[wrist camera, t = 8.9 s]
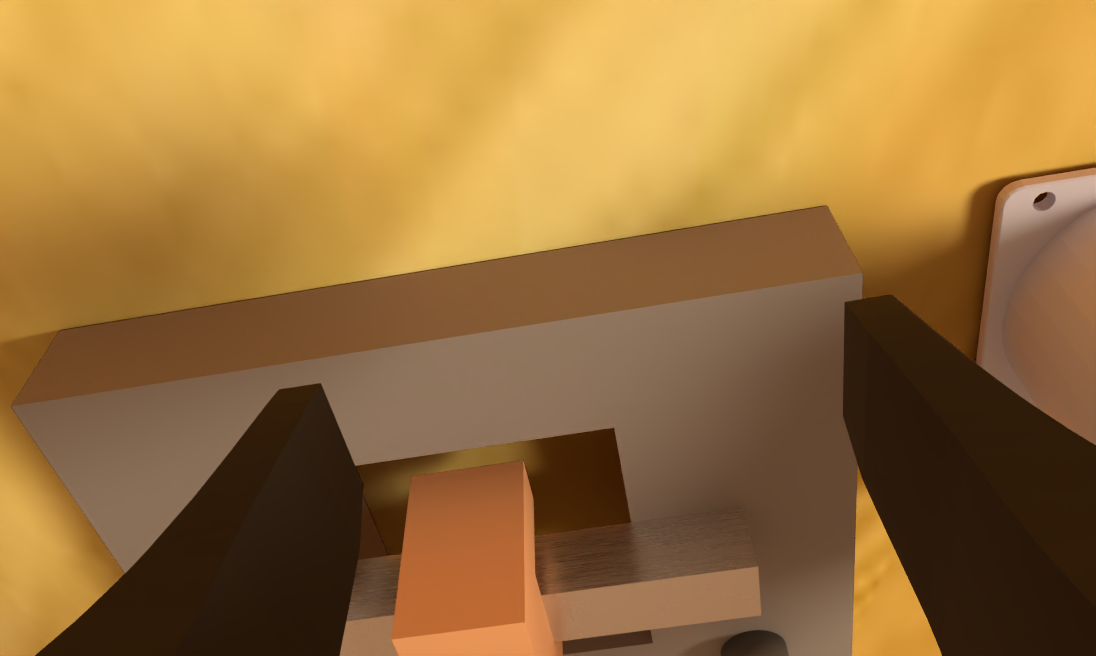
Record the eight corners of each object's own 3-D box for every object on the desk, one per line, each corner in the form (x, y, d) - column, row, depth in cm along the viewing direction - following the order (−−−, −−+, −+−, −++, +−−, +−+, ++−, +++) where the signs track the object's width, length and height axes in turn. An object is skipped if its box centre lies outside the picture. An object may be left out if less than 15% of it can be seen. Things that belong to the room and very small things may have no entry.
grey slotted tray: (827, 205, 23) (891, 327, 19) (826, 606, 33) (869, 743, 29) (58, 331, 25) (-29, 466, 21) (269, 678, 34) (236, 817, 30)
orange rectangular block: (523, 460, 25) (524, 622, 21) (560, 602, 28) (567, 764, 24) (411, 476, 25) (391, 639, 21) (462, 615, 29) (453, 777, 25)
